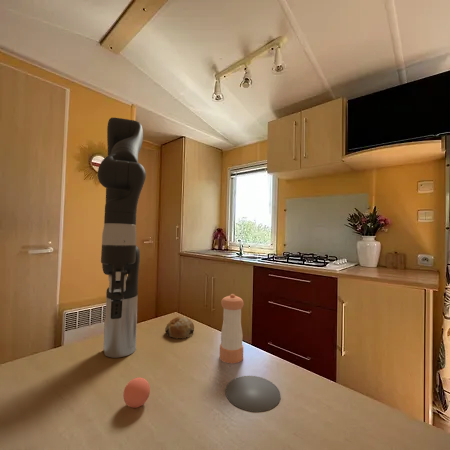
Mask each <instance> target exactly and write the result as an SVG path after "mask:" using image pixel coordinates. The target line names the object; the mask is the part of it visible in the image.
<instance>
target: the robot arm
mask: <svg viewBox="0 0 450 450" xmlns="http://www.w3.org/2000/svg"><path fill="white" fill-rule="evenodd" d="M106 126H107V127H106V133H107V135H106V139H107V140H106V141H107V143H106V144H107V145H106V146H107V156H106V157H104V159H102V161H101V162H100V164H99V166H98V168H97V179H98V182H99V183H100V184H101V186H102V187H104V188H105V205H104V217H103V218H104V221H103V229H102V235H101V251H100V252H101V253H100V255H101V256H100V263H101V264H102V265H101V268H102V271H103V274H104V275H107V276H108V279H107V280H108V283H109V284H108V287H107V288H106V291H105V293H106V295H105V296H106V297H105V298H106V299H105V301H106V302H105V320H104V323H103V325H104V326H103V327H104V328H103V352H104V355H105V357H108V358H122V357H127V356H130V355H131V354H133V353H135V351H136V350H137V331H138V329H137V327H138V326H137V324H138V302H139V301H138V297H139V296H138V294H139V293H138V292H139V291H138V289H139V288H138V286H139V271H140V259H141V256H140V255H141V253H140V249H139V247H138V246H137V226H136V225H137V210H138V203H139V199H140V196H141V192H142V190H143V187H144V184H145V182H146V176H147V173H146V169H145V167H144V166H143V165H142V164H141V163H140V162H139V154H140V151H141V149H142V145H143V140H144V130H143V129H144V128H143V126H142V123H140V121H138V120H135V119H128V118H121V117H110V118H109V119H108V121H107V125H106Z"/></svg>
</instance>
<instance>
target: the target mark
mask: <svg viewBox="0 0 450 450" xmlns="http://www.w3.org/2000/svg"><path fill="white" fill-rule="evenodd" d="M225 396H226V397H227V399H228V401H229V402H230V403H231V404H232V405H234V406H235V407H237V408H239V409H241V410H244V411H247V412H253V413H254V412H255V413H256V412H258V413H259V412H266V411H269V410H272V409H273V408H275V407H276V406H277V405H279V403H280V400H281V391H280V389H279V387H278V386H277V385H276V384H274V383H273V382H272V381H270V380H268V379H267V378H263V377H261V376H256V375H241V376H238V377H236V378H235V377H234V378H233V379H232V380H230V381H229V382H228V383H227V384H226V387H225Z"/></svg>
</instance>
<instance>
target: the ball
mask: <svg viewBox="0 0 450 450" xmlns="http://www.w3.org/2000/svg"><path fill="white" fill-rule="evenodd" d="M150 393H151V386H150V383H149V382H148V380H146V379H145V378H144V377H135V378H132V379H130V380H129V381H128V383H127V384H126V385H125V387H124V389H123V399H124V400H123V401H124V403H125V404H126V405H127V406H128V407H129V408H132V409H133V408H135V409H136V408H140V407H141V406H143V405H144V404H145V403H146V402H147V401H148V399H149V397H150V395H151V394H150Z"/></svg>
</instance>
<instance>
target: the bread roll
mask: <svg viewBox="0 0 450 450" xmlns="http://www.w3.org/2000/svg"><path fill="white" fill-rule="evenodd" d="M164 331H165V333H166V335H167V337H169V338H171V337H173V339H175V338H176V339H178V338H182V339H186V337H187V338H191V337H192V336H193V335H194V332H195V325H194V323H193V321H192V319H190V318H189V317H187V316H182V315H181V316H176V317H174V318H172V319H171V320H170V321H169V322H168V323H167V324H166V327H165V329H164ZM188 336H189V337H188ZM190 336H191V337H190Z"/></svg>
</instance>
